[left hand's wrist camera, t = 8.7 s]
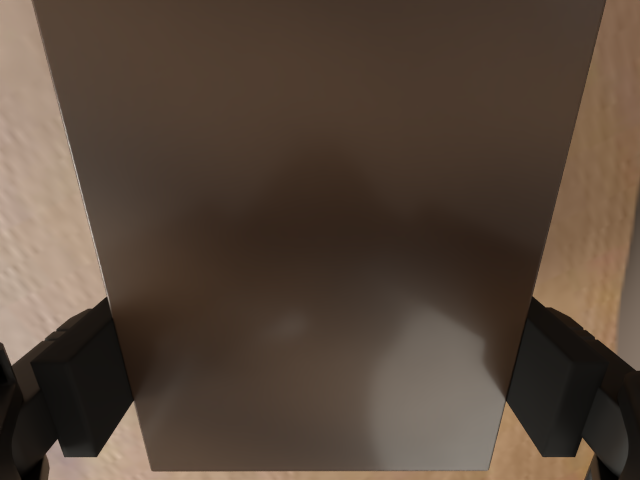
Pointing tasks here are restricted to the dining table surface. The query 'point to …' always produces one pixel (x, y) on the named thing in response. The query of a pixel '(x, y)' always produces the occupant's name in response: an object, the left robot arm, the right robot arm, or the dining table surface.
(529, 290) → the cabinet
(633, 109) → the dining table surface
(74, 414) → the left robot arm
